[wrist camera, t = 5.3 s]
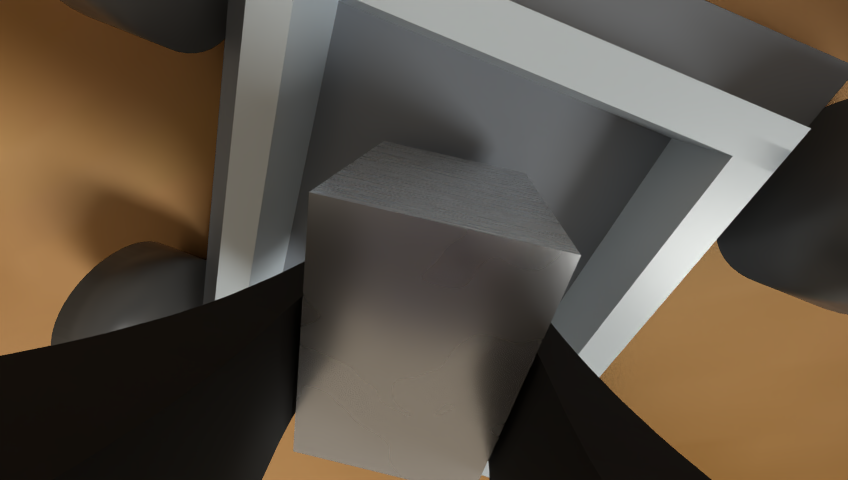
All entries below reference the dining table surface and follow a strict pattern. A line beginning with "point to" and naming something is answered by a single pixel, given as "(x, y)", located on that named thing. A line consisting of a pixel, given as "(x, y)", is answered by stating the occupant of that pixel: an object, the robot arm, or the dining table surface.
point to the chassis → (509, 143)
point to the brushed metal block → (422, 310)
